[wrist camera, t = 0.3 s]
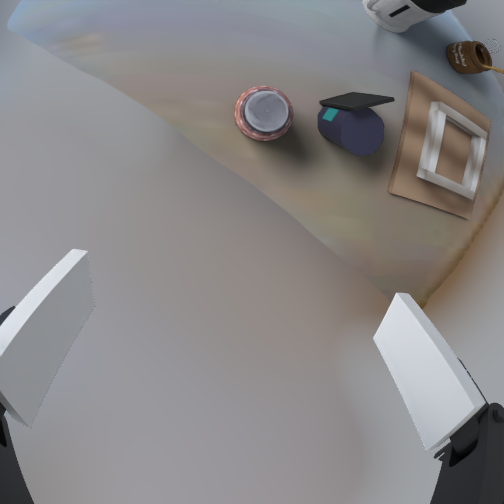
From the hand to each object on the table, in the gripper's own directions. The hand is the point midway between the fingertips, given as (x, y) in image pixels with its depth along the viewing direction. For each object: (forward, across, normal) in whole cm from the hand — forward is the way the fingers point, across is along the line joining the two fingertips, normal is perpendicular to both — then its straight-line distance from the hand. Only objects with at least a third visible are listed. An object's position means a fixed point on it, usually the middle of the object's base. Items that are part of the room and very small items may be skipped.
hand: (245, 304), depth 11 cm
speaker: (+28, +12, +10) cm, 32 cm away
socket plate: (+28, +32, +12) cm, 44 cm away
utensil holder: (+28, +32, +30) cm, 52 cm away
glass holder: (+28, +15, +30) cm, 44 cm away
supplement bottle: (+28, +1, +8) cm, 29 cm away
